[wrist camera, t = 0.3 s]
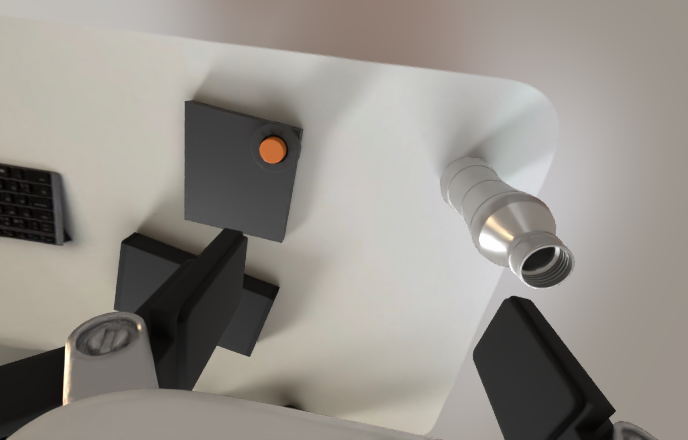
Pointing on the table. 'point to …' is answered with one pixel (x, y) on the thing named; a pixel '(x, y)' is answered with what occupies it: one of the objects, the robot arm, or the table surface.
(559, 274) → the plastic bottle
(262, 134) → the scale
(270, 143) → the button
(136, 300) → the external hard drive
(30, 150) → the table surface
